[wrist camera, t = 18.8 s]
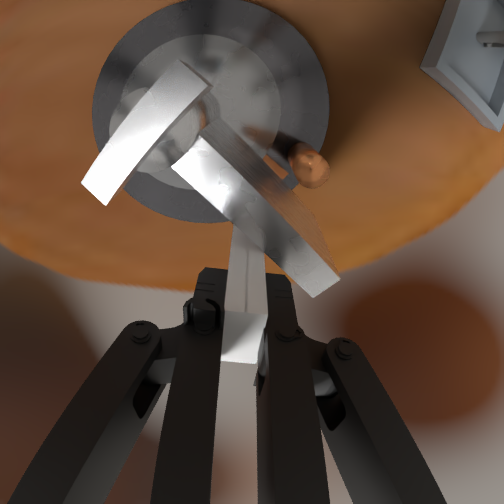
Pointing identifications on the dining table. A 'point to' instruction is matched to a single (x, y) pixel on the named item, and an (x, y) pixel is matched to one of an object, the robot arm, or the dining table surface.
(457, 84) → the tray
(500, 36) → the mechanical component
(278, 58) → the crank base
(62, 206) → the dining table surface
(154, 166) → the crank
